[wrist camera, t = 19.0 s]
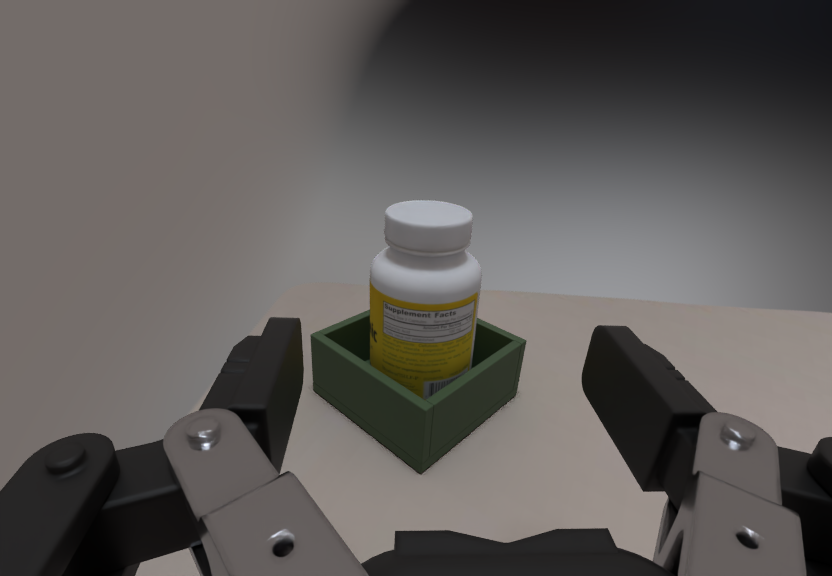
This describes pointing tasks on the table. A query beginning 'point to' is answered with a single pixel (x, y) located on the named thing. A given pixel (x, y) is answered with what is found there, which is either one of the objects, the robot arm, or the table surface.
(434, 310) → the supplement bottle
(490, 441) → the table surface
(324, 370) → the basket
